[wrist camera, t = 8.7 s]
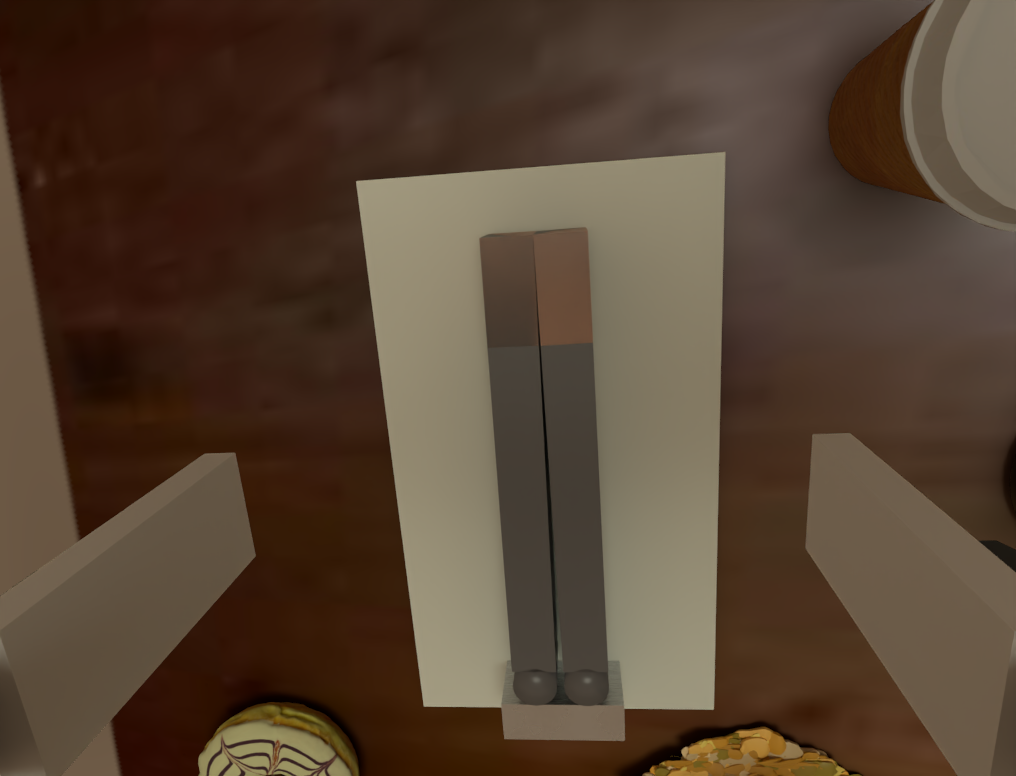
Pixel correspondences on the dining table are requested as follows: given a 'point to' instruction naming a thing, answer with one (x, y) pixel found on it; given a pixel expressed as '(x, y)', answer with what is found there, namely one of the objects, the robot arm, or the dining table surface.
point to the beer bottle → (1013, 483)
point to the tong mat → (619, 410)
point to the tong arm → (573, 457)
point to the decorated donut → (279, 744)
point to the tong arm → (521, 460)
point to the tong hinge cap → (565, 713)
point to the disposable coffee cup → (937, 110)
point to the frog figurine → (749, 757)
